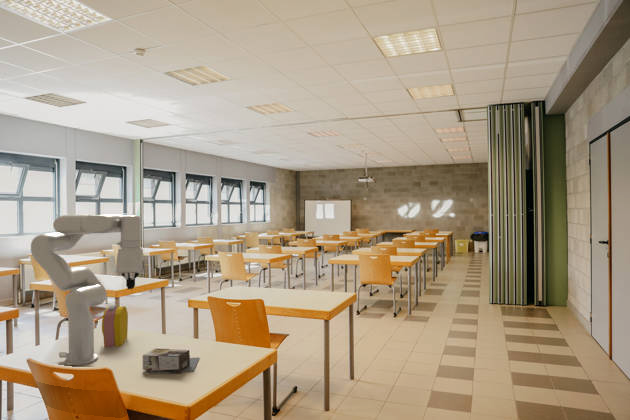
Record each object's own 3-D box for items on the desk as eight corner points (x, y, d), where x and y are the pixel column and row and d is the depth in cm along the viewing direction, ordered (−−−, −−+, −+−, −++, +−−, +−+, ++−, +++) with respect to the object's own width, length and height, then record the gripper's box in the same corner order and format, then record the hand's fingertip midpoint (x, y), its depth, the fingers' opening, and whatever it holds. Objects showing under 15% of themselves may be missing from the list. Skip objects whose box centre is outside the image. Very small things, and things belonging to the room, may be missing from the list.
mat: (149, 374, 166) (149, 373, 166) (158, 360, 180) (158, 359, 180) (193, 371, 168) (193, 370, 168) (199, 358, 183) (199, 357, 183)
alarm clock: (110, 338, 212) (110, 302, 212) (128, 337, 214) (127, 301, 214) (101, 348, 198) (100, 309, 198) (119, 346, 199) (119, 308, 199)
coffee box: (142, 370, 168) (178, 373, 165) (142, 354, 168) (178, 356, 165) (155, 363, 177) (190, 365, 174) (155, 347, 177) (190, 349, 174)
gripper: (108, 245, 170) (108, 290, 170) (146, 245, 171) (146, 290, 172) (115, 244, 178) (115, 287, 178) (151, 243, 179) (151, 286, 179)
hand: (130, 288), depth 175 cm, fingers closed
